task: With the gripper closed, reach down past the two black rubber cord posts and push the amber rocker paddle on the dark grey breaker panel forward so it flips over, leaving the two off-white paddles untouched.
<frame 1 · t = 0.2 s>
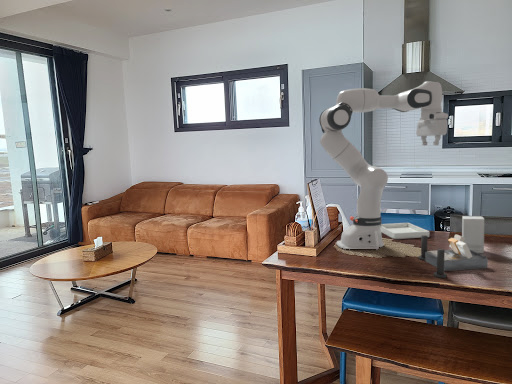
hand: (430, 145, 177), 48 cm above the table, fingers open, 8 cm apart
paddle 2: (463, 249, 142), point 8 cm above the table, hinge at -28.0°
breaker panel: (454, 264, 148), on the table
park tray: (401, 233, 201), on the table
paddle amber: (455, 246, 147), point 8 cm above the table, hinge at -28.0°
skincare box: (472, 251, 165), on the table
paddle 1: (456, 242, 153), point 8 cm above the table, hinge at 28.0°
cord posts: (431, 266, 146), on the table
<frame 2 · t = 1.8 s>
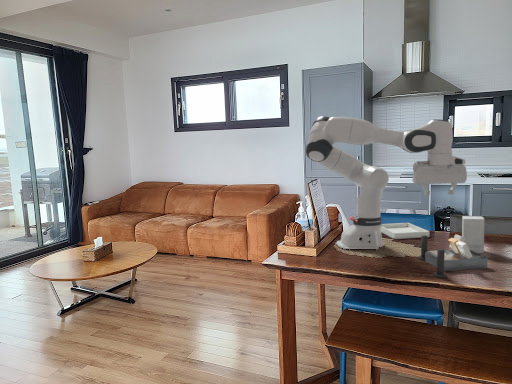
hand: (438, 194, 149), 28 cm above the table, fingers open, 8 cm apart
nothing on the table moved.
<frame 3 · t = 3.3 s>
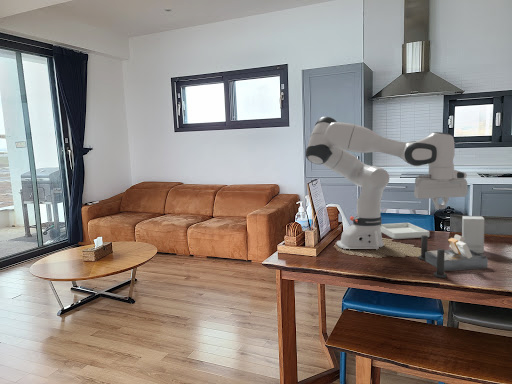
hand: (440, 209, 145), 23 cm above the table, fingers closed
nothing on the table moved.
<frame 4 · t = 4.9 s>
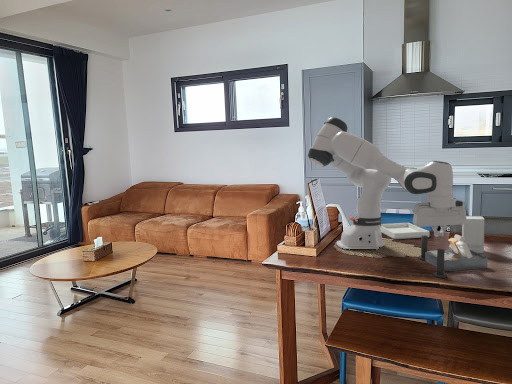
hand: (438, 236, 146), 12 cm above the table, fingers closed
nothing on the table moved.
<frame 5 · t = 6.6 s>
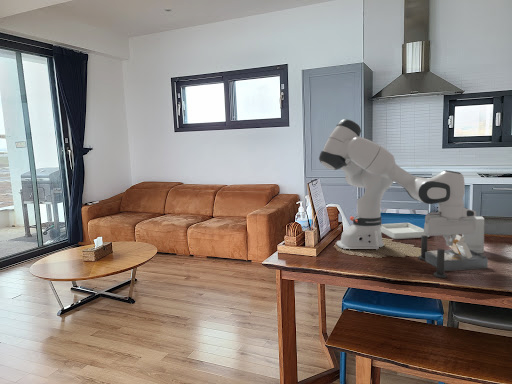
hand: (449, 245, 147), 8 cm above the table, fingers closed, pressing on paddle amber
paddle amber: (456, 246, 147), point 8 cm above the table, hinge at -26.5°, touching gripper
everything else where it was.
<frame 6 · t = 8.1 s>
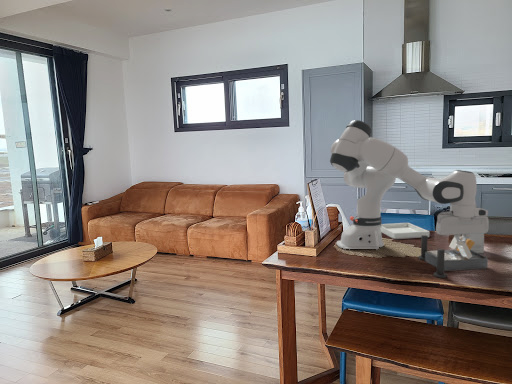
hand: (461, 244, 147), 8 cm above the table, fingers closed
paddle amber: (465, 246, 148), point 7 cm above the table, hinge at 35.4°, touching gripper
everything else where it was.
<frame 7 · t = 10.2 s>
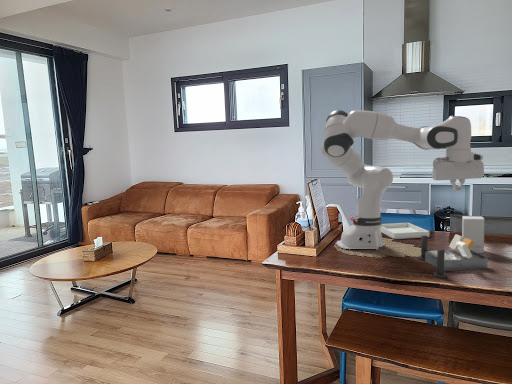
hand: (457, 190, 151), 29 cm above the table, fingers closed
paddle amber: (465, 246, 148), point 7 cm above the table, hinge at 35.5°
everything else where it was.
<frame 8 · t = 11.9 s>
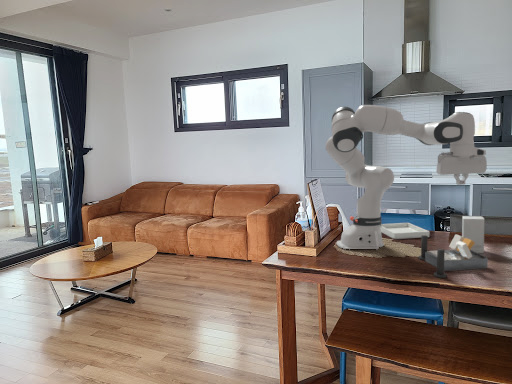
hand: (460, 184, 155), 31 cm above the table, fingers closed
nothing on the table moved.
at the end: paddle amber at +36° (first picture: -28°); paddle 2 at -28° (first picture: -28°); paddle 1 at +28° (first picture: +28°) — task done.
